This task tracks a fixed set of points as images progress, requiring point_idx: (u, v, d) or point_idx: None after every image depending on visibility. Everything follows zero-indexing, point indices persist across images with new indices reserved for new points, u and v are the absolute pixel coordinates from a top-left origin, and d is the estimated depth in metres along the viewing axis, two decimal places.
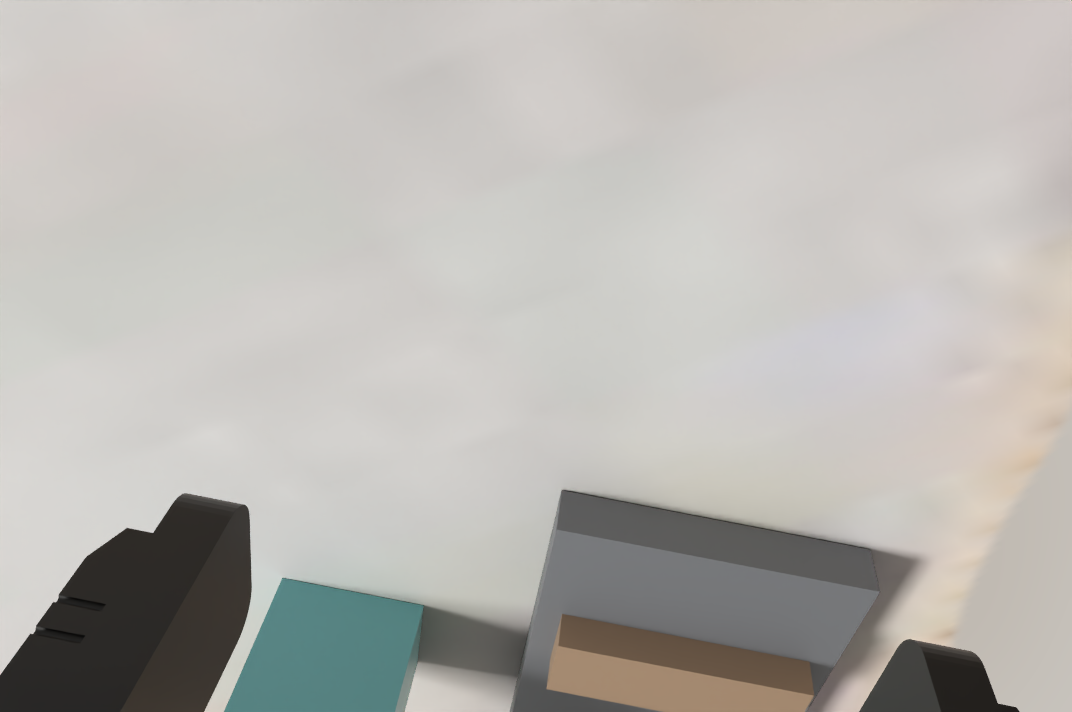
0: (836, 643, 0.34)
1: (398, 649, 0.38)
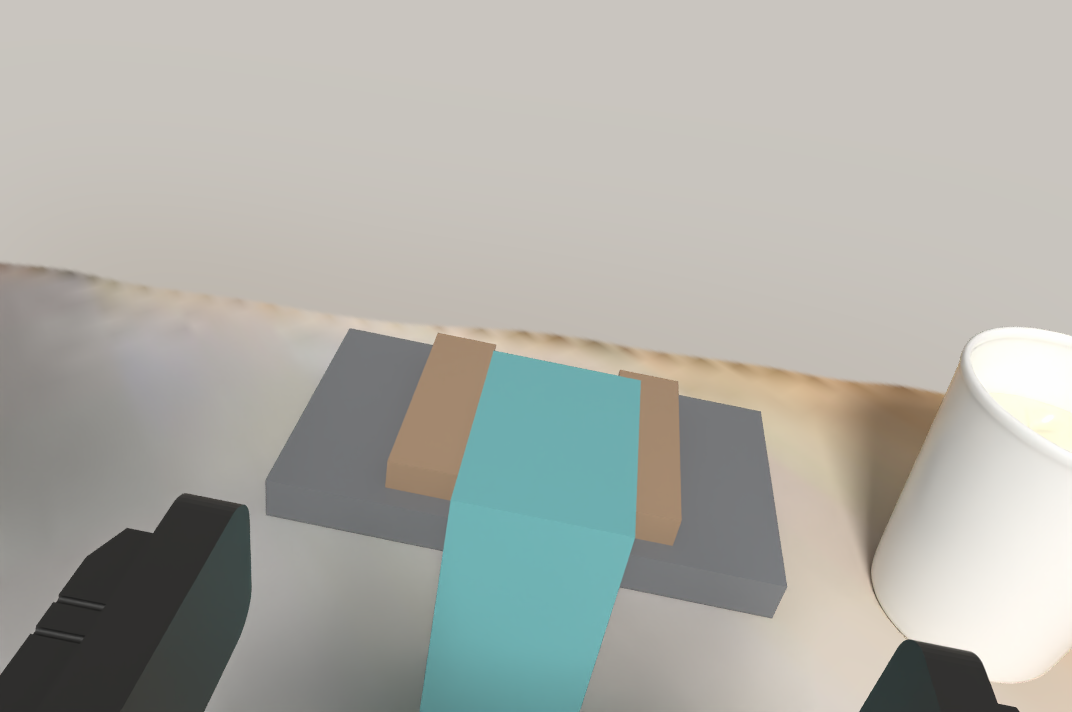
0: (411, 345, 0.46)
1: None
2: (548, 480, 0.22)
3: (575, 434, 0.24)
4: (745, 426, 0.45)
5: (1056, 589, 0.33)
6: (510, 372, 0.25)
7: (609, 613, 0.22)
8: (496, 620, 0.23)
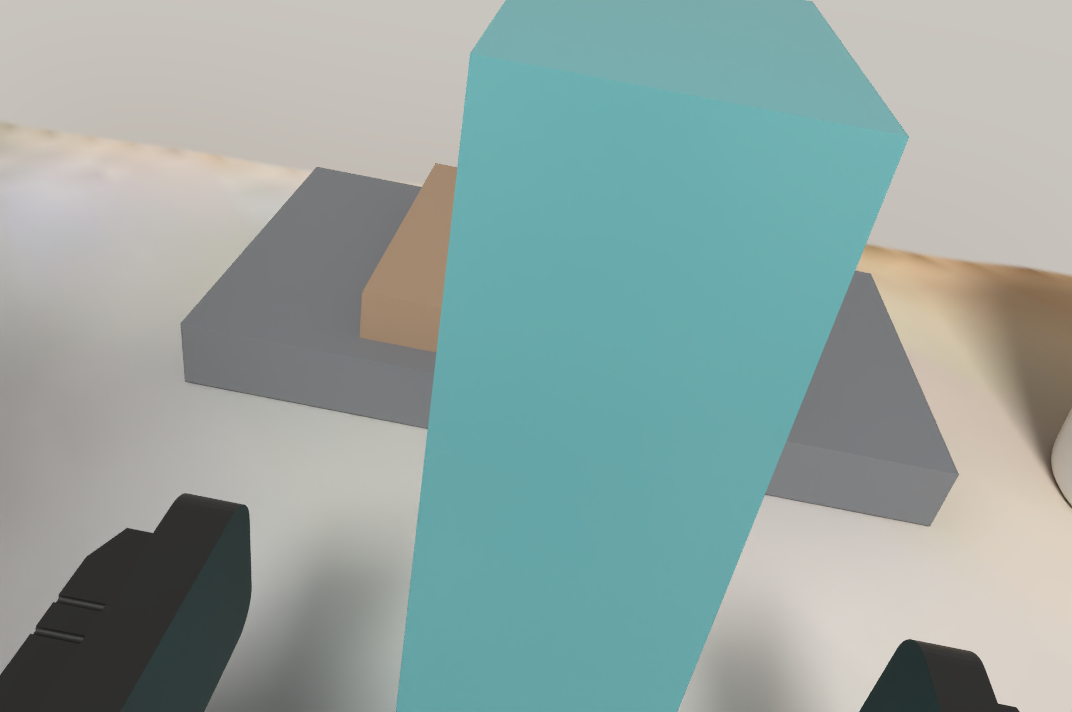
0: (399, 187, 0.34)
1: None
2: (685, 59, 0.10)
3: (719, 26, 0.12)
4: (855, 288, 0.33)
5: None
6: None
7: (814, 363, 0.10)
8: (562, 398, 0.11)
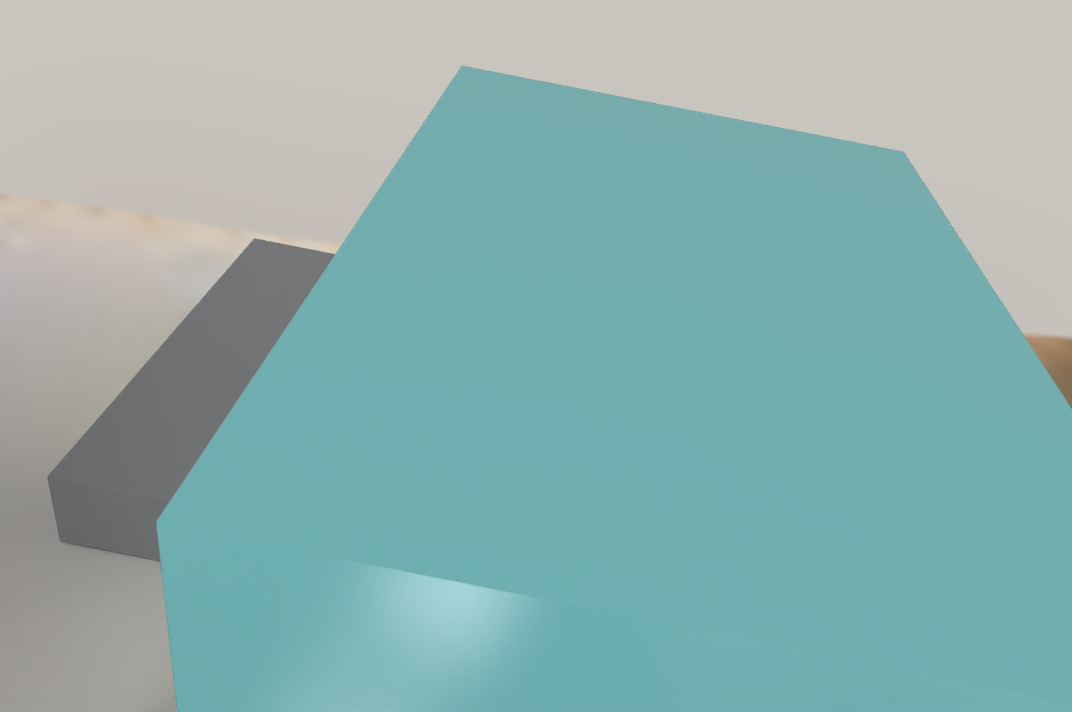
0: None
1: None
2: (706, 421, 0.04)
3: (765, 260, 0.06)
4: None
5: None
6: (512, 106, 0.08)
7: None
8: None
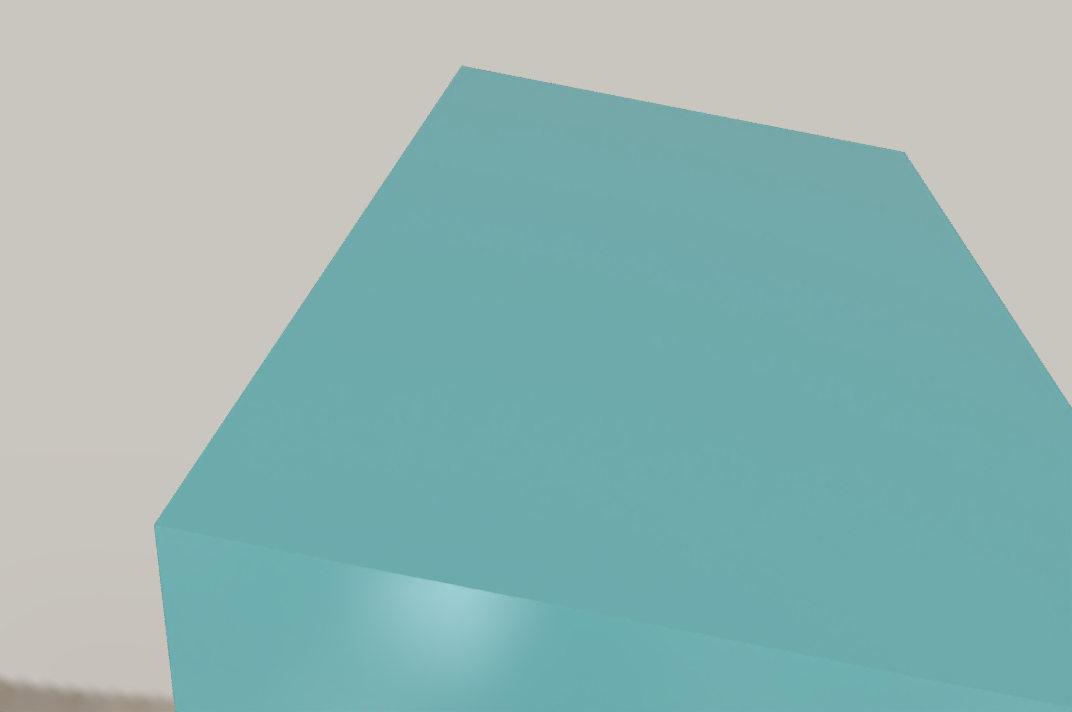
0: None
1: None
2: (706, 423, 0.04)
3: (766, 261, 0.06)
4: None
5: None
6: (513, 106, 0.08)
7: None
8: None
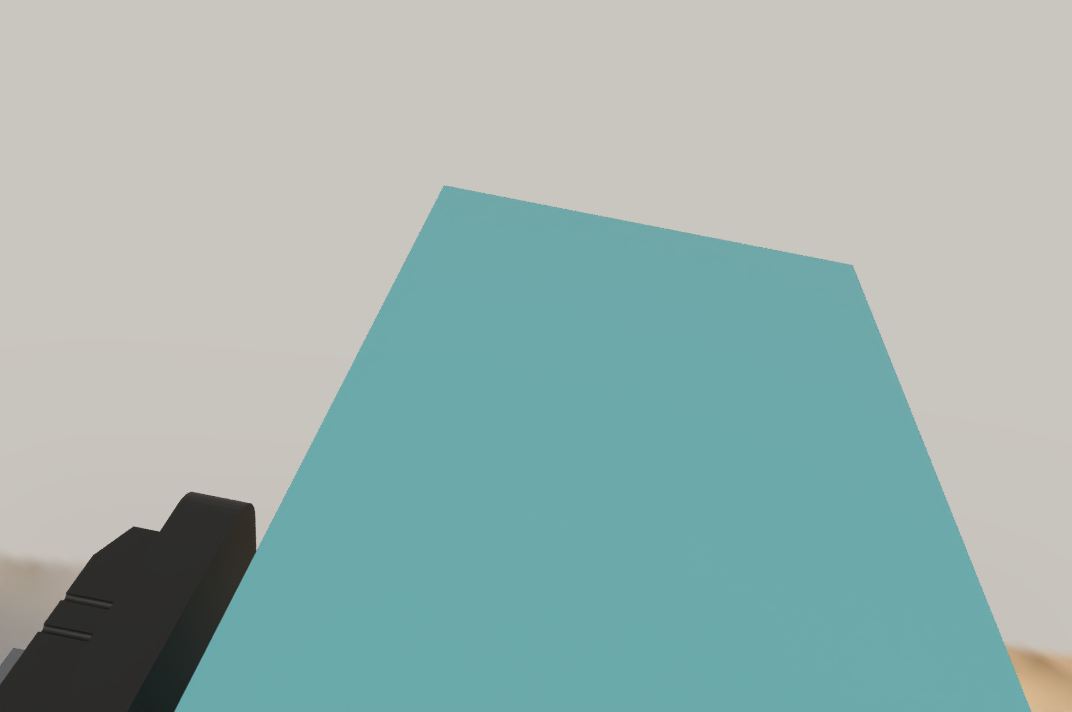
0: None
1: None
2: (641, 590, 0.05)
3: (709, 406, 0.07)
4: None
5: None
6: (489, 233, 0.09)
7: None
8: None
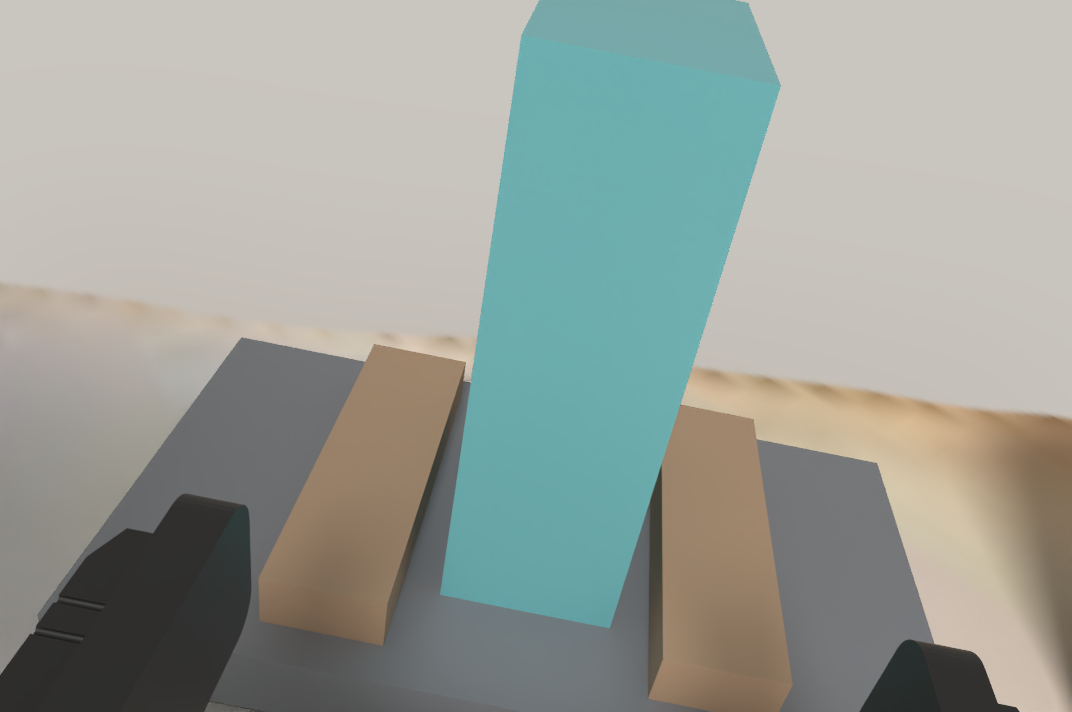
0: (335, 363, 0.30)
1: None
2: (651, 40, 0.16)
3: (677, 20, 0.18)
4: (858, 489, 0.29)
5: None
6: None
7: (732, 232, 0.16)
8: (574, 259, 0.17)
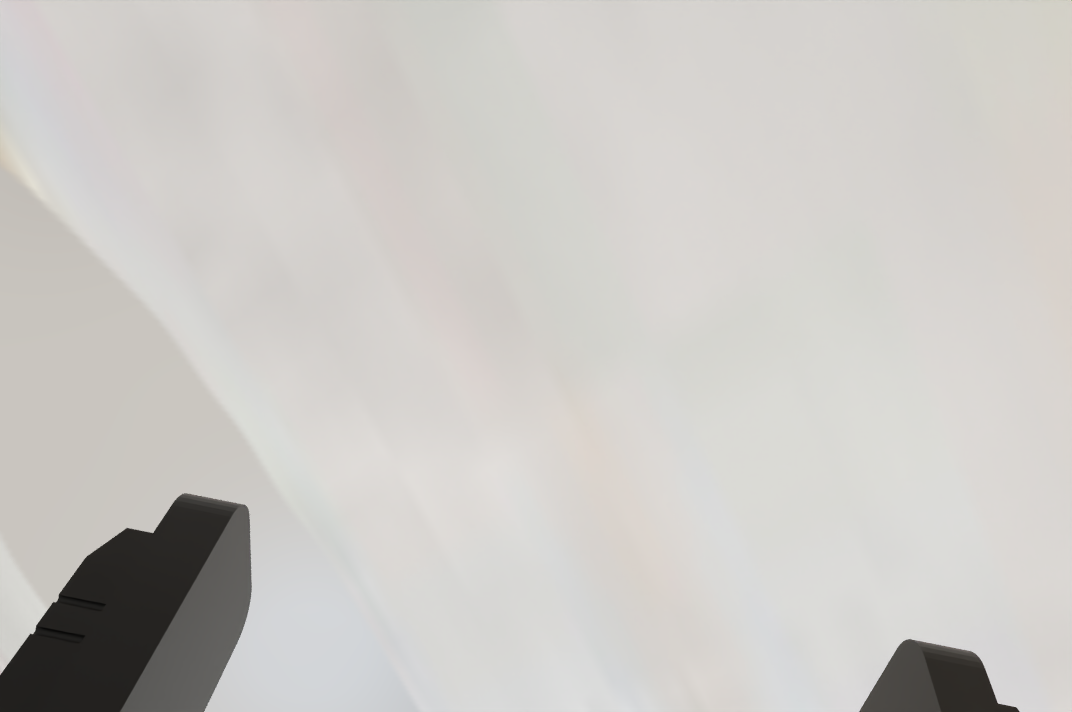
0: None
1: None
2: None
3: None
4: None
5: None
6: None
7: None
8: None
